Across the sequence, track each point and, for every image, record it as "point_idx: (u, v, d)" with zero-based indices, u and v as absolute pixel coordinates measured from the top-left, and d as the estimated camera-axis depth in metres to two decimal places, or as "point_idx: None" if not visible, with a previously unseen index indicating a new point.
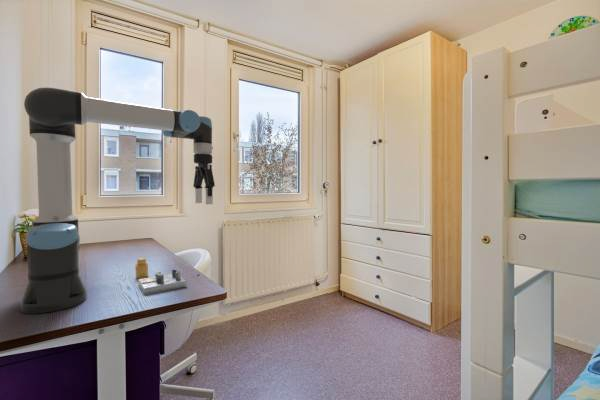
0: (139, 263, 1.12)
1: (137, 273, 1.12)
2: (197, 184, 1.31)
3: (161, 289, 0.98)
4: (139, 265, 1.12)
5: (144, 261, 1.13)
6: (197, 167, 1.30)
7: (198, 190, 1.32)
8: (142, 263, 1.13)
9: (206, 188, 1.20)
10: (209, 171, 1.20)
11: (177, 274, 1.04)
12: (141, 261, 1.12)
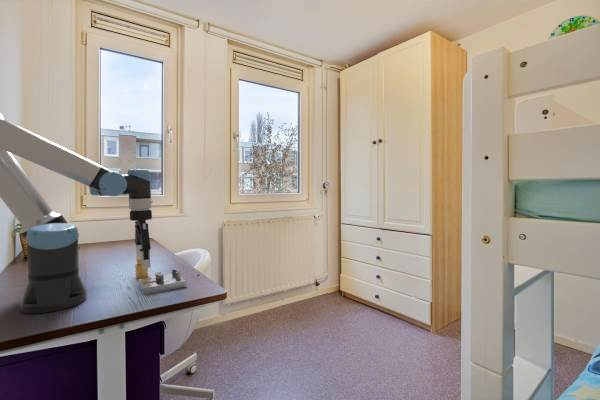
0: (139, 263, 1.12)
1: (137, 273, 1.12)
2: (137, 241, 1.18)
3: (161, 289, 0.98)
4: (139, 265, 1.12)
5: None
6: (137, 222, 1.17)
7: (139, 247, 1.19)
8: None
9: (142, 251, 1.07)
10: (145, 232, 1.08)
11: (177, 274, 1.04)
12: (141, 261, 1.12)
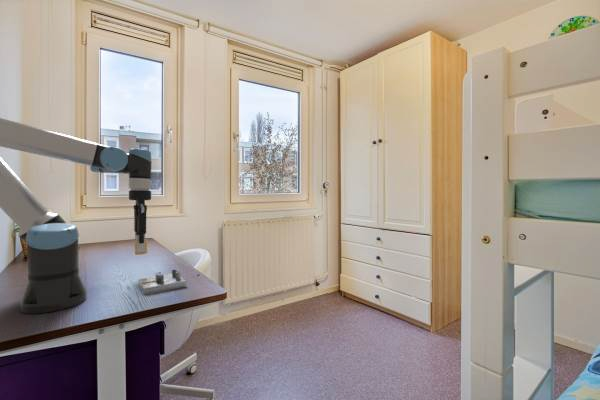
0: None
1: (136, 249, 1.11)
2: (137, 226, 1.15)
3: (161, 289, 0.98)
4: None
5: None
6: None
7: None
8: None
9: (137, 234, 1.10)
10: (142, 215, 1.08)
11: (177, 274, 1.04)
12: None
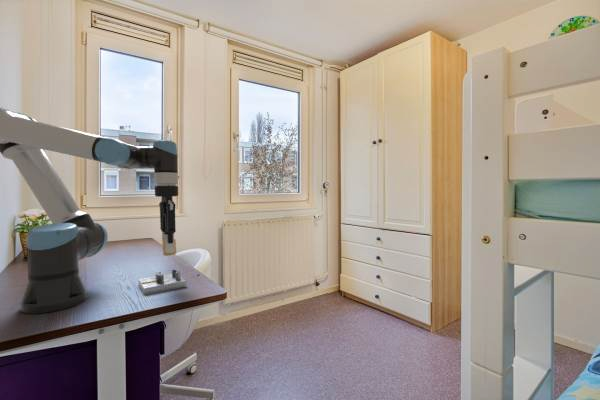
0: None
1: None
2: (164, 225, 1.05)
3: (161, 289, 0.98)
4: None
5: None
6: None
7: None
8: None
9: (166, 234, 1.01)
10: (171, 213, 0.99)
11: (177, 274, 1.04)
12: None
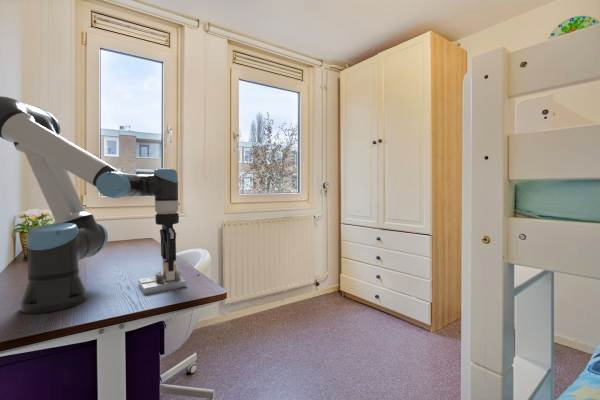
0: None
1: None
2: (164, 252, 1.06)
3: (161, 289, 0.98)
4: None
5: None
6: None
7: None
8: None
9: (166, 262, 1.01)
10: (172, 242, 0.99)
11: (177, 274, 1.04)
12: None
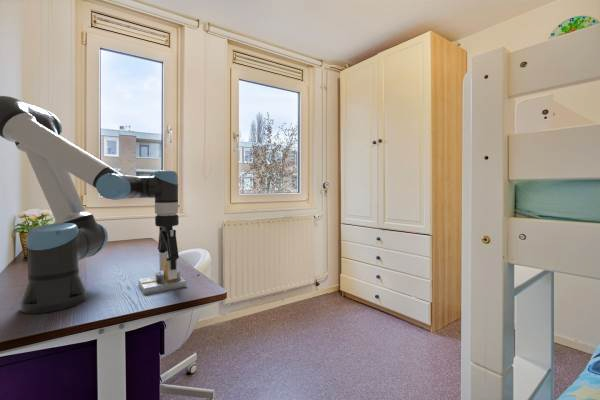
0: None
1: (166, 275, 1.03)
2: (161, 248, 1.09)
3: (161, 289, 0.98)
4: None
5: None
6: (161, 228, 1.08)
7: (163, 255, 1.09)
8: None
9: (168, 260, 0.98)
10: (172, 239, 0.98)
11: (177, 274, 1.04)
12: None
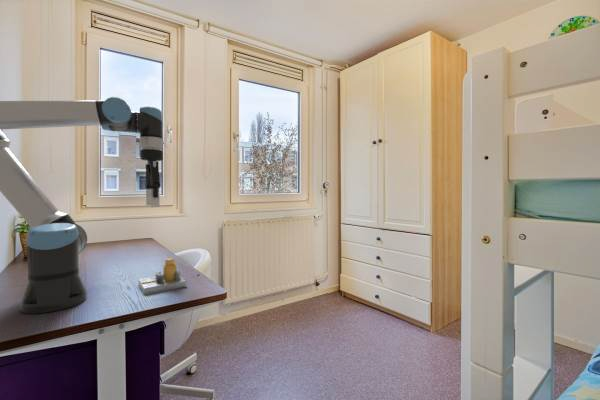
0: (168, 264, 1.03)
1: (166, 275, 1.03)
2: (148, 184, 1.16)
3: (161, 289, 0.98)
4: (168, 266, 1.03)
5: (173, 261, 1.04)
6: (147, 165, 1.15)
7: (149, 191, 1.16)
8: (171, 264, 1.03)
9: (151, 188, 1.05)
10: (155, 169, 1.05)
11: (177, 274, 1.04)
12: (170, 261, 1.03)
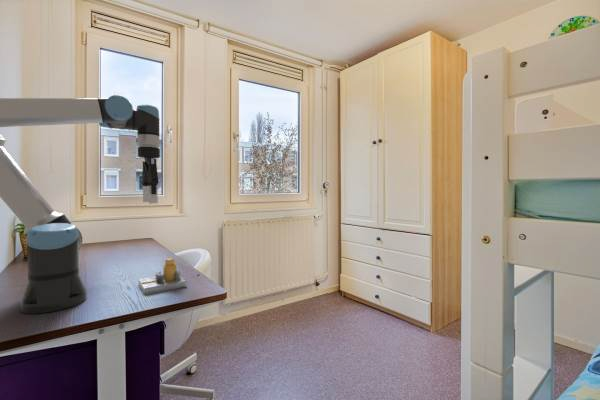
0: (168, 264, 1.03)
1: (166, 275, 1.03)
2: (144, 181, 1.17)
3: (161, 289, 0.98)
4: (168, 266, 1.03)
5: (173, 261, 1.04)
6: (144, 162, 1.17)
7: (146, 188, 1.18)
8: (171, 264, 1.03)
9: (149, 185, 1.06)
10: (153, 166, 1.07)
11: (177, 274, 1.04)
12: (170, 261, 1.03)
